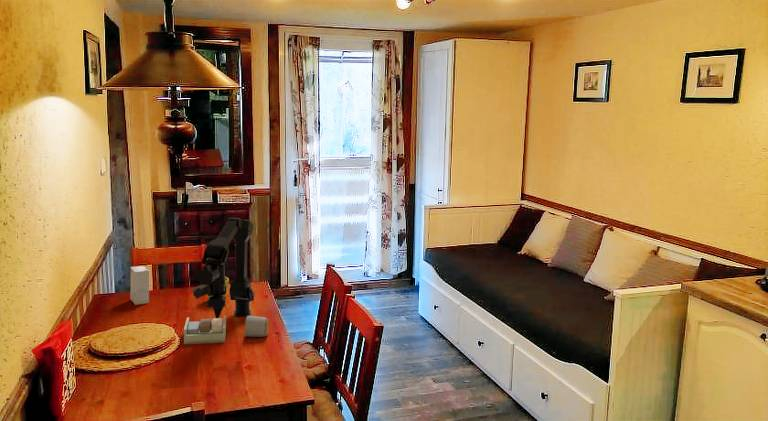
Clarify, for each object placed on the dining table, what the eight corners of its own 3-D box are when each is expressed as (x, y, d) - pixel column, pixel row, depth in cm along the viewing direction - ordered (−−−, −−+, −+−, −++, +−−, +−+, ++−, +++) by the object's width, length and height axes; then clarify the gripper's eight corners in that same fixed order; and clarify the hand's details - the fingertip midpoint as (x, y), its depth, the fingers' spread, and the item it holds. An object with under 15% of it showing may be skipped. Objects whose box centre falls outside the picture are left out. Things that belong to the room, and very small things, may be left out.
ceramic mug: (266, 339, 221) (266, 319, 220) (244, 339, 221) (244, 319, 219) (270, 329, 232) (270, 310, 231) (248, 329, 231) (248, 310, 230)
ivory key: (212, 324, 226) (212, 318, 225) (222, 323, 227) (222, 318, 226) (211, 332, 218) (211, 326, 218) (221, 331, 219) (221, 325, 219)
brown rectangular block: (201, 324, 225) (201, 318, 224) (211, 324, 226) (211, 318, 225) (199, 332, 217) (199, 326, 217) (210, 332, 218) (210, 326, 218)
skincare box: (130, 300, 259) (129, 266, 257) (144, 297, 263) (143, 265, 260) (135, 305, 253) (134, 271, 250) (150, 303, 256) (149, 269, 254)
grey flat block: (189, 327, 224) (189, 321, 224) (199, 327, 225) (199, 321, 224) (187, 335, 216) (187, 329, 216) (198, 335, 217) (198, 328, 217)
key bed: (187, 331, 227) (186, 317, 226) (225, 329, 230) (225, 315, 229) (184, 344, 214) (183, 329, 213) (224, 342, 217) (224, 327, 216)
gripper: (195, 271, 226) (196, 310, 229) (191, 285, 208) (192, 328, 211) (226, 270, 229) (226, 309, 231) (224, 284, 211) (225, 326, 214)
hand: (217, 317), depth 222 cm, fingers closed
